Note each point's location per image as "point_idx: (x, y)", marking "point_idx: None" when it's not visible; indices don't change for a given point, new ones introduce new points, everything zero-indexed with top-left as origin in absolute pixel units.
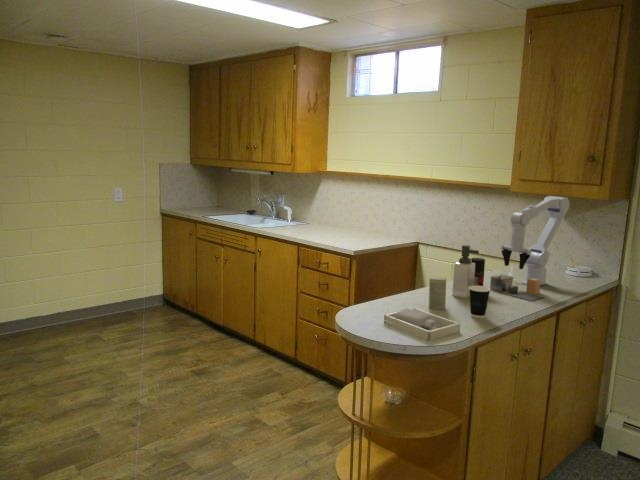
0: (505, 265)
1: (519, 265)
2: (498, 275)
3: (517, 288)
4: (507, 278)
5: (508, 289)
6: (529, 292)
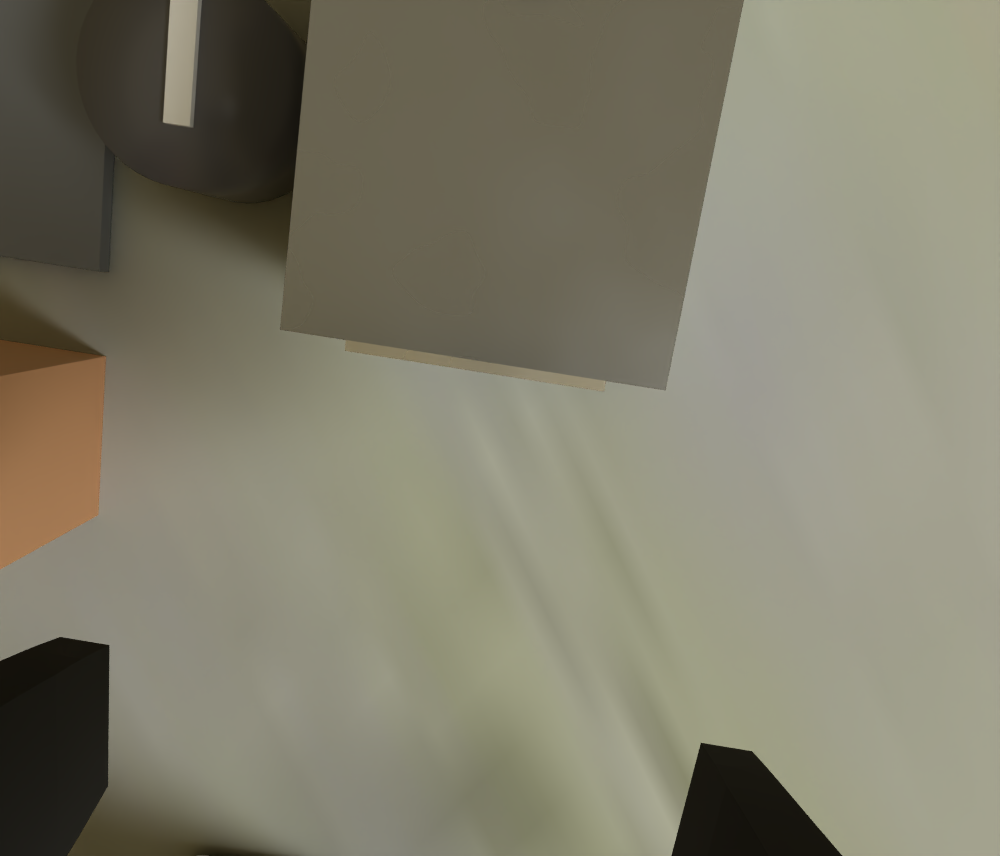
0: (721, 749)
1: (4, 699)
2: (674, 182)
3: (92, 72)
4: (308, 37)
5: (299, 42)
6: (33, 346)
